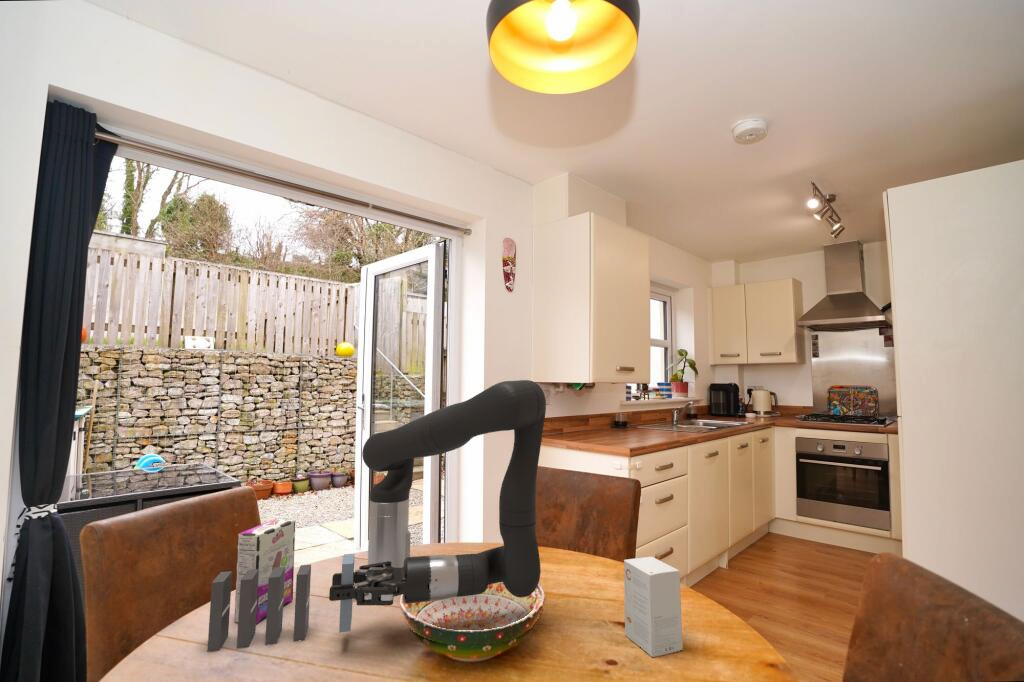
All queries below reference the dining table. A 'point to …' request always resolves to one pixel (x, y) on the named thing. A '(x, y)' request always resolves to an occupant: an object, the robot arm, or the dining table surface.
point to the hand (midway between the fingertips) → (331, 586)
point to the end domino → (219, 611)
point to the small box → (653, 605)
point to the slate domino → (347, 604)
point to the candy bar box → (266, 559)
